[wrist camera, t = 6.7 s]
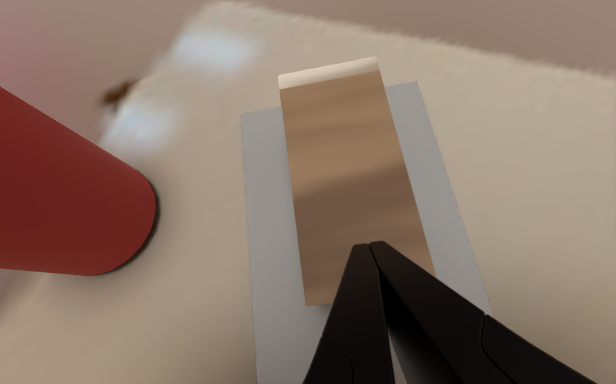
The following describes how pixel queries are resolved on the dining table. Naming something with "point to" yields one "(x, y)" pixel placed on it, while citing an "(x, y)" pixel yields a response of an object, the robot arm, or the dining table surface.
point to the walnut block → (346, 172)
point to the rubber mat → (284, 243)
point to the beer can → (65, 198)
